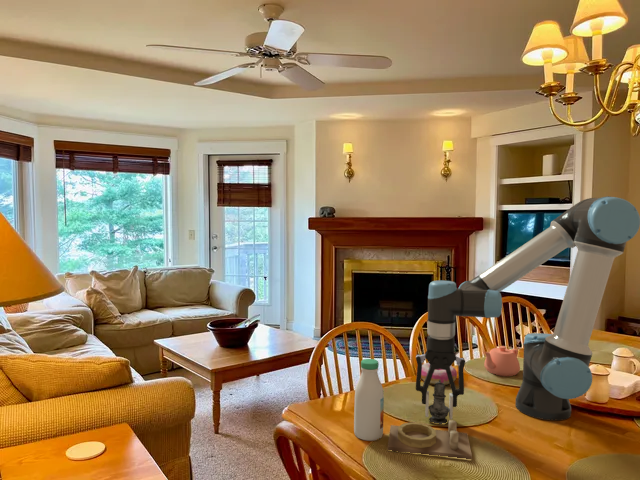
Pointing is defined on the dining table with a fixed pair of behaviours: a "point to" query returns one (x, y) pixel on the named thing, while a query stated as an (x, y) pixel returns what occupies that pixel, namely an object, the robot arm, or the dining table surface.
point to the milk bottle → (369, 403)
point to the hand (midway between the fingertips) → (438, 416)
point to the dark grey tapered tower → (439, 404)
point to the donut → (437, 374)
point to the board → (435, 448)
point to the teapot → (502, 361)
